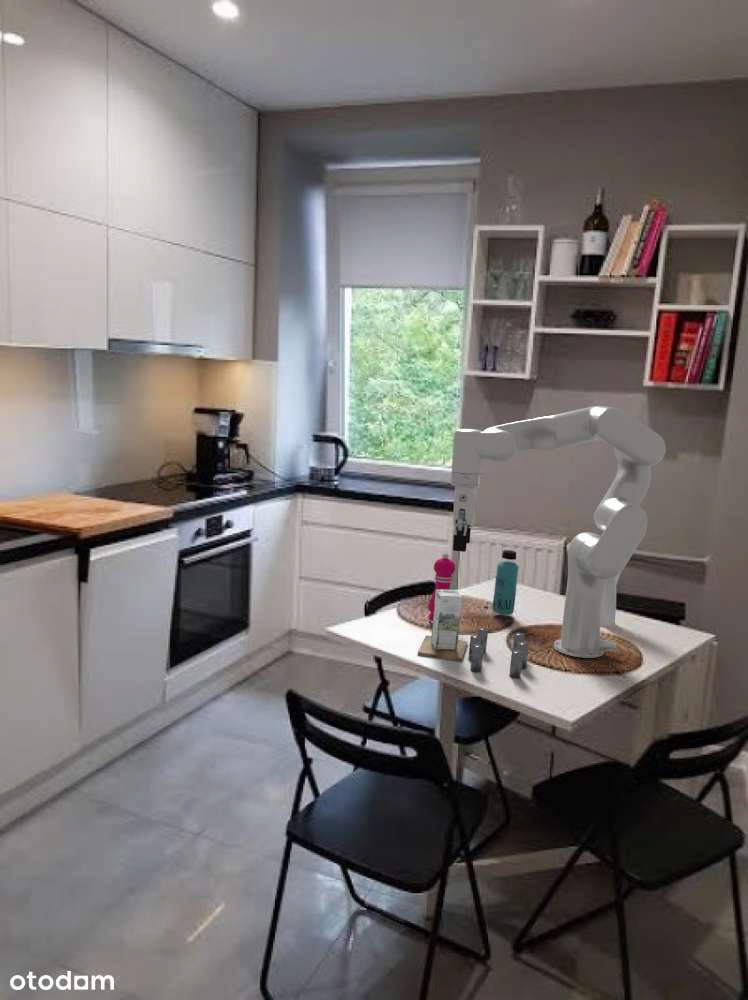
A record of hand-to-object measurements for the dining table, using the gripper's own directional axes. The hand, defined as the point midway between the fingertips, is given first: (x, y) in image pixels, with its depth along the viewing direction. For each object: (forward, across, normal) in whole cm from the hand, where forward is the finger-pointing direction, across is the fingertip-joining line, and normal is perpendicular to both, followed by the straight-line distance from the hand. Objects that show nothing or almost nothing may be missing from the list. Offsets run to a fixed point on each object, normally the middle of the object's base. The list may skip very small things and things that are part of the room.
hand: (461, 546), depth 189 cm
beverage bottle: (+28, +33, -11) cm, 44 cm away
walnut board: (+27, -2, +3) cm, 27 cm away
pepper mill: (+27, +20, +6) cm, 34 cm away
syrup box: (+26, -2, +2) cm, 26 cm away
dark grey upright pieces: (+27, -6, -11) cm, 30 cm away
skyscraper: (+28, +40, -40) cm, 63 cm away
